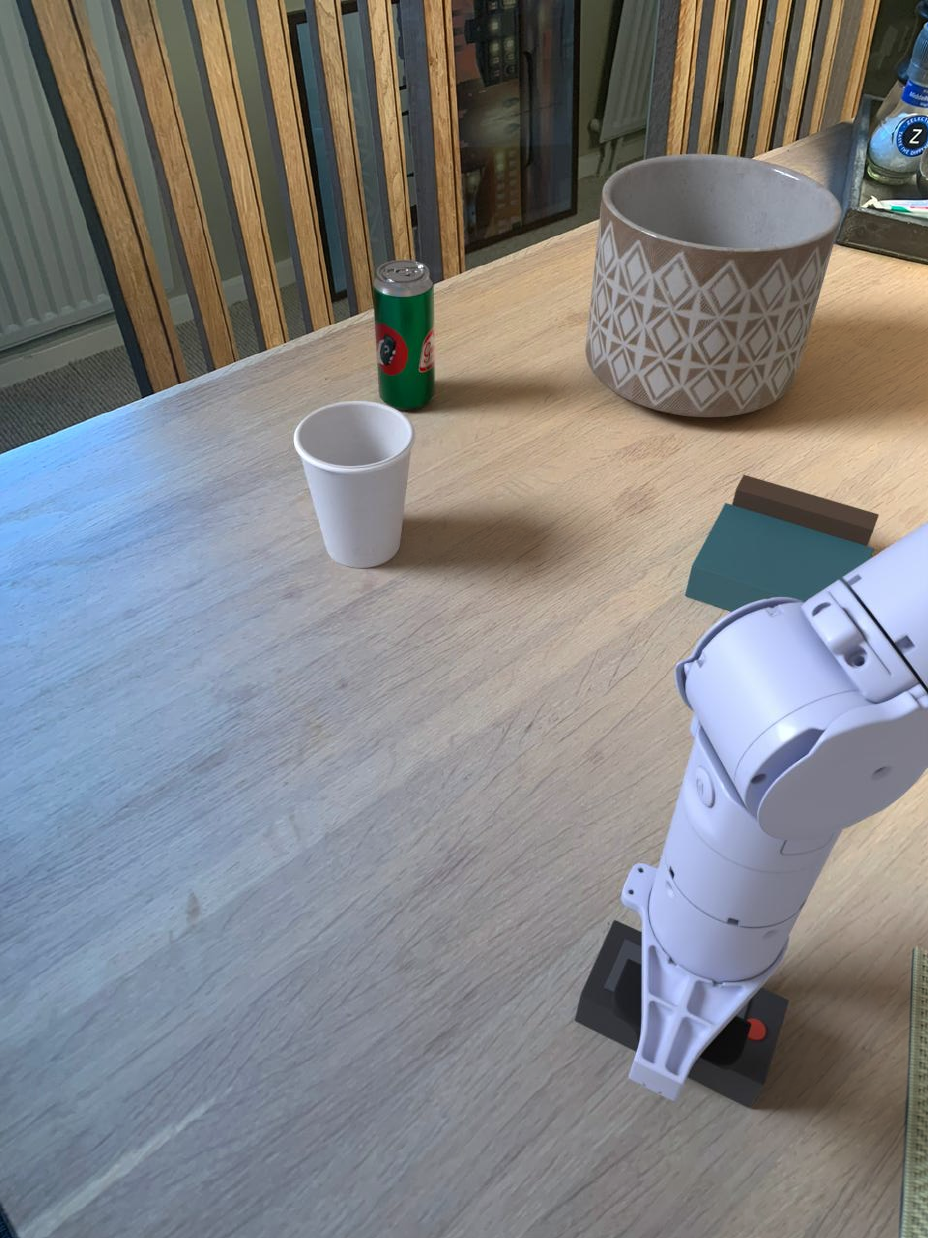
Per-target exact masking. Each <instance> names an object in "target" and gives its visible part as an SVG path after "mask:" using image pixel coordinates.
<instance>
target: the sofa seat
mask: <svg viewBox="0 0 928 1238" xmlns="http://www.w3.org/2000/svg"><path fill="white" fill-rule="evenodd" d="M878 519H879V513H876V512H872V511H869V510H865V509H862V508H859V507H855V506H853V505H848V504H845V503H842V502H839V501H835V500H832V499H828V498H824V497H821V496H818V495H816V494H811V493H808V492H805V491H800V490H798V489H794V488H791V487H787V486H784V485H781V484H777V483H775V482H770V481H767V480H764V479H760V478H756V477H754V476H751V475H746V474H743V475H742V477H741V479H740V480H739V483H738V484H737V486H736V488H735V492H734V496H733V500H732V503H731V504H730V503H727V502H725V503H724V505H723V506H722V509H721V510H720V512H719V514H718V516H717V518H716V520H715V521H714V523H713V525H712V527H711V529H710V531H709V533H708V534H707V536H706V538H705V540H704V542H703V543H702V546H701V547H700V550H699V551H698V553H697V555H696V557H695V559H694V561H693V563H692V565H691V569H690V572H689V577H688V581H687V585H686V590H685V594H684V596H685V597H687V598H689V599H693V600H696V601H699V602H702V603H705V604H707V605H711V606H714V607H717V608H719V609H722V610H725V611H728V612H730V613H731V612H733V611H735V610H737V609H739V608H741V607H743V606H745V605H747V604H750V603H753V602H755V601H759V600H763V599H770V598H774V597H789V598H795V599H798V600H801V601H803V602H806V601H807V600H808V599H810V598H811V597H813V596H814V595H816V594H817V593H819V592H821V591H822V590H824V589H825V588H827V587H828V586H830V585H831V584H833V583H834V582H836V581H837V580H841V581H842V582H843V583H844V584H845V585H846V583H845V582H844V580H843V578H842V577H843V576H845V575H846V574H848V573H849V572H851V571H853V570H854V569H856V568H857V567H859V566H860V565H862V564H863V563H865V562H866V561H868V560H869V559H871V558H872V557H873V553H874V550H875V548H874V547H871V546H869V543H870V540H871V538H872V535H873V532H874V530H875V527H876V524H877V521H878ZM846 587H847V585H846ZM847 588H848V587H847ZM848 589H849V588H848ZM849 590H850V589H849ZM851 593H852V592H851Z"/></svg>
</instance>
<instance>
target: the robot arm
mask: <svg viewBox="0 0 928 1238" xmlns="http://www.w3.org/2000/svg"><path fill="white" fill-rule="evenodd" d="M842 578H843V580H844V582H845V583H846V585H847V587H848V588H849V589H850V590H849V589H848V588H847V587H846V585H845V584H844V583H843V582H842V581H841V580H837V581H836V582H834V583H833V584H831V585H830V586H828V587H827V588H825V589H824V590H822V591H821V592H819V593H817V594H816V595H814V596H813V597H811V598H810V599H808V600H807V601H806V602H803V601H801V600H798V599H795V598H789V597H774V598H770V599H763V600H759V601H755V602H753V603H750V604H747V605H745V606H743V607H741V608H739V609H737V610H735V611H733V612H731V611H730V613H728V614H726V615H724V616H723V617H722V618H720V619H719V620H718V621H717V622H715V623H714V624H713V625H712V626H711V627H710V628H709V629H708V630H707V631H706V632H705V633H704V634H703V635H702V636H701V638H700V639H699V640H698V642H697V643H696V644H695V645H696V646H695V647H694V649H693V651H692V653H691V654H690V655H689V656H688V657H685V658H684V659H681V660H679V661H678V662H676V664H675V667H674V674H673V677H674V684H675V685H674V686H675V687H676V690H677V692H678V694H679V696H680V697H681V699H682V701H683V703H684V704H685V706H687V707H688V709H690V710H691V711H692V712H693V714H692V719H691V723H690V727H689V732H690V735H691V736H692V738H693V743H692V747H691V751H690V754H689V758H688V761H687V764H686V765H687V766H686V769H685V772H684V775H683V777H682V778H683V779H682V782H681V786H680V790H679V793H678V797H677V800H676V804H675V807H674V811H673V814H672V817H671V822H670V824H669V827H668V832H667V836H666V839H665V842H664V845H663V850H662V853H661V856H660V860H659V863H658V866H657V867H656V866H653V865H651V864H648V863H644V862H638V863H635V864H634V865H633V866H632V867H631V869H630V871H629V874H628V876H627V878H626V880H625V883H624V885H623V887H622V890H621V895H620V901H621V903H622V905H623V906H625V907H626V908H627V909H628V910H631V911H633V912H635V913H636V914H638V915H639V917H640V921H641V932H642V965H641V964H639V963H637V962H635V961H633V960H630V959H627V961H626V963H625V965H624V968H623V970H622V973H621V975H620V977H619V980H618V982H617V984H616V987H615V990H614V993H613V998H612V1010H613V1014H614V1015H615V1016H616V1017H618V1018H620V1019H621V1020H623V1021H625V1022H626V1023H628V1024H629V1025H630V1026H631V1027H632V1028H633V1029H634V1031H635V1033H636V1036H637V1040H638V1043H639V1045H638V1049H637V1052H636V1051H635V1052H636V1053H635V1055H634V1058H633V1061H632V1065H631V1067H630V1069H629V1073H628V1079H629V1080H630V1081H633V1082H634V1083H636V1084H637V1085H640V1086H642V1087H643V1088H646V1089H647V1090H649V1091H651V1092H653V1093H655V1094H657V1095H659V1096H662V1097H663V1098H665V1099H667V1100H669V1101H671V1102H673V1103H674V1102H675V1103H676V1102H677V1101H678V1099H679V1097H680V1094H681V1092H682V1090H683V1088H684V1086H685V1085H686V1084H685V1083H686V1081H687V1078H688V1077H687V1076H688V1074H689V1071H690V1070H691V1068H692V1066H693V1065H695V1064H697V1063H707V1064H711V1065H714V1066H717V1067H719V1068H721V1069H723V1070H729V1069H731V1068H732V1067H733V1066H734V1065H735V1064H736V1063H737V1062H738V1061H739V1059H740V1058H741V1056H742V1053H743V1051H744V1047H745V1044H746V1041H747V1038H748V1035H749V1031H750V1028H751V1025H752V1024H751V1022H749V1021H747V1020H745V1019H742V1018H740V1017H738V1016H736V1014H737V1013H738V1012H739V1011H740V1010H741V1009H742V1008H743V1007H744V1006H745V1005H746V1003H747V1002H748V1001H749V1000H750V999H751V998H752V997H753V996H754V995H755V994H756V992H757V991H758V990H759V989H760V988H761V987H762V988H763V986H764V985H765V984H766V983H767V982H768V981H769V979H770V978H771V977H772V976H773V975H774V974H775V972H776V971H777V970H778V969H779V967H780V965H781V963H782V961H783V960H784V957H785V955H786V953H787V950H788V947H789V942H790V934H791V933H792V930H793V928H794V926H795V924H796V923H797V921H798V918H799V916H800V914H801V912H802V911H803V909H804V906H805V905H806V903H807V901H808V898H809V896H810V895H811V892H812V890H813V888H814V886H815V884H816V883H817V880H818V878H819V876H820V875H821V873H822V871H823V869H824V866H825V865H826V862H827V861H828V859H829V857H830V855H831V853H832V851H833V849H834V847H835V845H836V843H837V842H838V840H839V838H840V836H841V834H842V832H843V830H845V829H848V828H850V827H852V826H855V825H857V824H858V823H860V822H863V821H864V820H866V819H868V818H870V817H872V816H874V815H877V814H879V813H880V812H882V811H884V810H885V809H887V808H889V807H890V806H891V805H892V804H894V803H895V802H896V801H898V800H899V799H900V798H901V797H902V796H904V795H905V794H906V793H907V792H908V791H909V790H910V789H912V787H913V786H914V785H915V784H917V782H918V781H919V779H920V778H921V777H922V776H923V774H924V773H925V772H926V771H927V769H928V520H927V521H925V522H924V523H923V524H921V525H919V526H918V527H916V528H915V529H913V530H912V531H910V532H909V533H908V534H906V535H904V536H903V537H902V538H900V539H898V540H897V541H895V542H893V543H892V544H891V545H889V546H887V547H886V548H884V549H883V550H882V551H879V552H878V553H877V554H875V555H874V556H871V559H869V560H868V561H866V562H865V563H863V564H862V565H860V566H859V567H857V568H856V569H854V570H853V571H851V572H849V573H848V574H846V575H845V576H843V577H842ZM851 592H852V593H851Z"/></svg>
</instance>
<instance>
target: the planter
mask: <svg viewBox="0 0 928 1238" xmlns="http://www.w3.org/2000/svg"><path fill="white" fill-rule="evenodd" d="M599 211H600V212H599V221H598V228H597V229H598V230H597V237H596V238H597V239H596V247H595V256H594V266H593V275H592V284H591V285H592V286H591V293H590V302H589V311H588V320H587V321H588V322H587V329H586V330H587V331H586V340H585V357H586V361H587V364H588V366H589V368H590V370H591V371H592V373H593V374H594V375H595V377H596V378H597V379H598V380H599V381H600V383H602V384H603V385H604V386H605V387H607V388H608V389H609V390H610V391H612V392H613V393H615V394H617V395H618V396H620V397H622V398H623V399H625V400H628V401H630V402H632V403H635V404H637V405H639V406H642V407H645V408H648V409H652V410H654V411H657V412H662V413H665V414H666V413H667V414H672V415H678V416H684V417H695V418H720V417H721V418H723V417H724V418H725V417H732V416H738V415H739V416H740V415H745V414H748V413H752V412H755V411H758V410H761V409H763V408H767V407H768V406H770V405H773V404H774V403H775V402H777V401H779V399H781V398H783V397H784V395H786V394H787V393H788V392H789V390H790V389H791V388H792V387H793V385H794V383H795V381H796V379H797V376H798V372H799V369H800V365H801V362H802V358H803V354H804V351H805V347H806V343H807V341H808V338H809V337H808V336H809V333H810V330H811V326H812V322H813V319H814V315H815V311H816V309H817V305H818V302H819V298H820V295H821V290H822V288H823V285H824V280H825V277H826V273H827V270H828V266H829V263H830V259H831V256H832V252H833V248H834V245H835V242H836V238H837V234H838V230H839V228H840V224H841V220H842V215H843V210H842V206H841V204H840V201H839V200H838V198H837V197H836V195H834V194H833V193H832V191H830V190H829V189H828V188H827V187H825V186H824V185H823V184H822V183H820V182H819V181H817V180H815V179H813V178H812V177H810V176H808V175H805V174H804V173H801V172H799V171H797V170H793V169H792V168H788V167H785V166H782V165H779V164H775V163H772V162H768V161H764V160H759V159H754V158H749V157H744V156H736V155H728V154H727V155H726V154H714V153H713V154H712V153H682V154H670V155H669V154H668V155H663V156H661V155H660V156H656V157H652V158H646V159H642V160H639V161H636V162H633V163H630V164H627V165H626V166H623V167H622V168H620V169H618V170H616V171H615V172H614V173H613V174H611V175H610V176H609V177H608V178H607V180H606V181H605V183H604V185H603V187H602V193H601V202H600V210H599Z"/></svg>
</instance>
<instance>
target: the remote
mask: <svg viewBox="0 0 928 1238" xmlns="http://www.w3.org/2000/svg"><path fill="white" fill-rule="evenodd" d="M627 959H630V960H633V961H635V962H637V963H639V964H641V965H642V931H641V930H639V929H636V928H634V927H632V926H630V925H627V924H625V923H623V922H621V921H618V920H617V919H613V921H612V923H611V925H610V927H609V930H608V932H607V934H606V936H605V939H604V941H603V943H602V945H601V947H600V949H599V952H598V954H597V956H596V959H595V960H594V963H593V966H592V967H591V970H590V972H589V974H588V976H587V979H586V981H585V983H584V985H583V988H582V990H581V992H580V995H579V999H578V1004H577V1007H576V1013H575V1017H574V1021H575V1022H576V1023H578V1024H580V1025H582V1026H584V1027H586V1028H587V1029H590V1030H592V1031H594V1032H596V1033H597V1034H600V1035H602V1036H604V1037H606V1038H608V1039H610V1040H612V1041H614V1042H616V1043H618V1044H620V1045H623V1046H624V1047H626V1048H627V1049H630V1050H631V1051H634V1052H637V1049H638V1045H639V1043H638V1040H637V1036H636V1033H635V1031H634V1029H633V1028H632V1027H631V1026H630V1025H629V1024H628V1023H626V1022H625V1021H623V1020H621V1019H620V1018H618V1017H616V1016H615V1015H614V1014H613V1010H612V998H613V993H614V990H615V987H616V984H617V982H618V980H619V977H620V975H621V973H622V970H623V968H624V965H625V963H626V961H627ZM789 1002H790V1000H789V999H788V998H786V997H785V996H782V995H780V994H777V993H775V992H773V991H770V990H769V989H766V988H764V987H763V986H762V987H761V988H760V989H759V990H758V991H757V992H756V994H755V995H754V996H753V997H752V998H751V999H750V1000H749V1001H748V1002H747V1003H746V1005H745V1006H744V1007H743V1008H742V1009H741V1010H740V1011H739V1012H738V1013H737V1014H736V1016H738V1017H740V1018H742V1019H745V1020H747V1021H749V1022H751V1024H752V1025H751V1028H750V1031H749V1035H748V1038H747V1041H746V1044H745V1047H744V1051H743V1053H742V1056H741V1058H740V1059H739V1061H738V1062H737V1063H736V1064H735V1065H734V1066H733V1067H732V1068H731V1069H729V1070H723V1069H721V1068H719V1067H717V1066H714V1065H711V1064H707V1063H697V1064H695V1065H693V1066H692V1068H691V1070H690V1071H689V1074H688V1076H687V1078H688V1079H690V1080H692V1081H694V1082H696V1083H698V1084H699V1085H702V1086H703V1087H706V1088H708V1089H710V1090H711V1091H714V1092H716V1093H718V1094H720V1095H722V1096H724V1097H726V1098H727V1099H730V1100H732V1101H734V1102H735V1103H738V1104H740V1105H742V1106H744V1107H746V1108H748V1109H751V1108H752V1107H753V1104H754V1103H755V1101H756V1100H757V1098H758V1097H759V1095H760V1093H761V1091H762V1090H763V1088H764V1087H765V1084H766V1081H767V1077H768V1074H769V1072H770V1071H769V1070H770V1068H771V1065H772V1064H771V1063H772V1060H773V1057H774V1053H775V1050H776V1047H777V1044H778V1041H779V1036H780V1032H781V1030H782V1026H783V1022H784V1019H785V1015H786V1013H787V1009H788V1005H789Z"/></svg>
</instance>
